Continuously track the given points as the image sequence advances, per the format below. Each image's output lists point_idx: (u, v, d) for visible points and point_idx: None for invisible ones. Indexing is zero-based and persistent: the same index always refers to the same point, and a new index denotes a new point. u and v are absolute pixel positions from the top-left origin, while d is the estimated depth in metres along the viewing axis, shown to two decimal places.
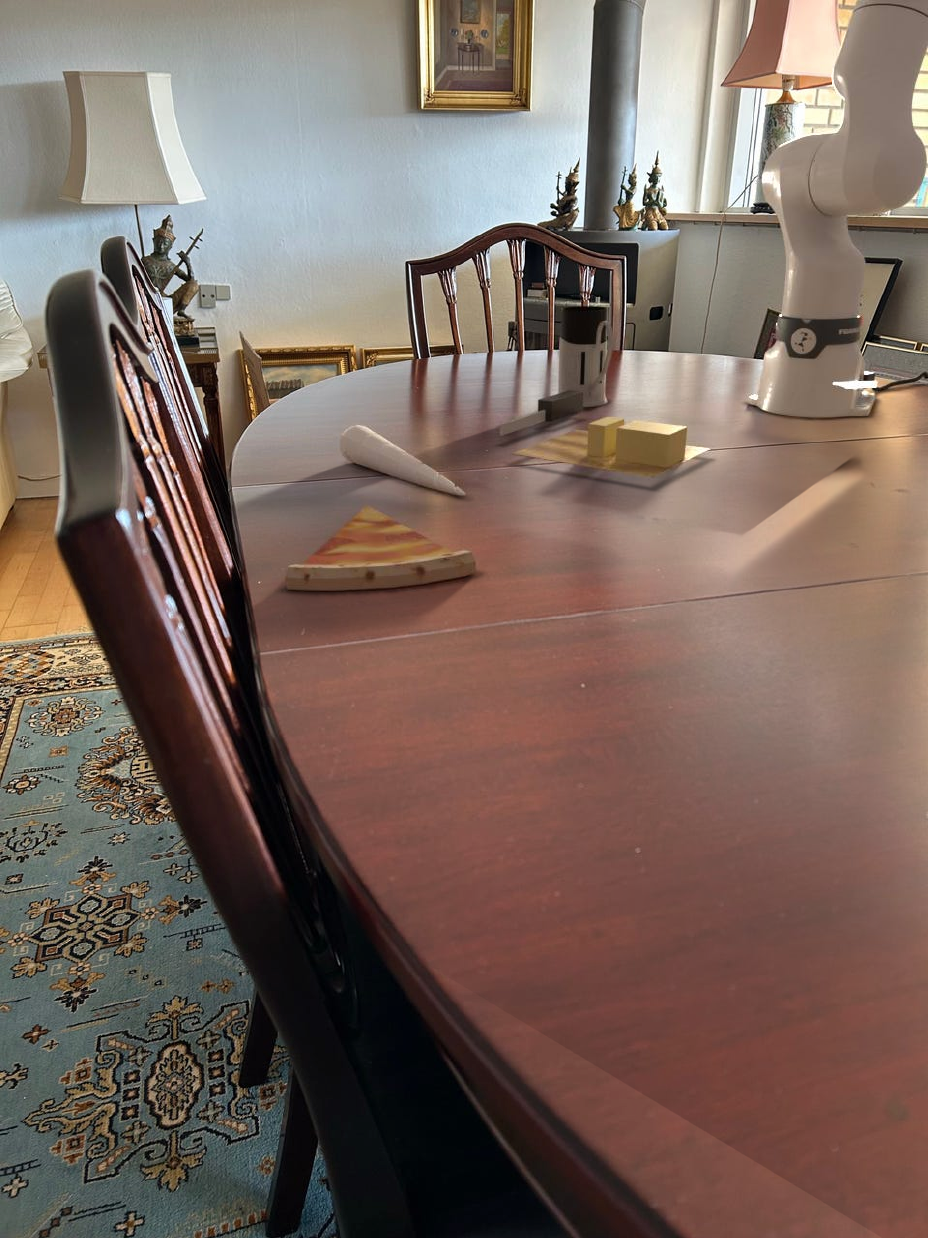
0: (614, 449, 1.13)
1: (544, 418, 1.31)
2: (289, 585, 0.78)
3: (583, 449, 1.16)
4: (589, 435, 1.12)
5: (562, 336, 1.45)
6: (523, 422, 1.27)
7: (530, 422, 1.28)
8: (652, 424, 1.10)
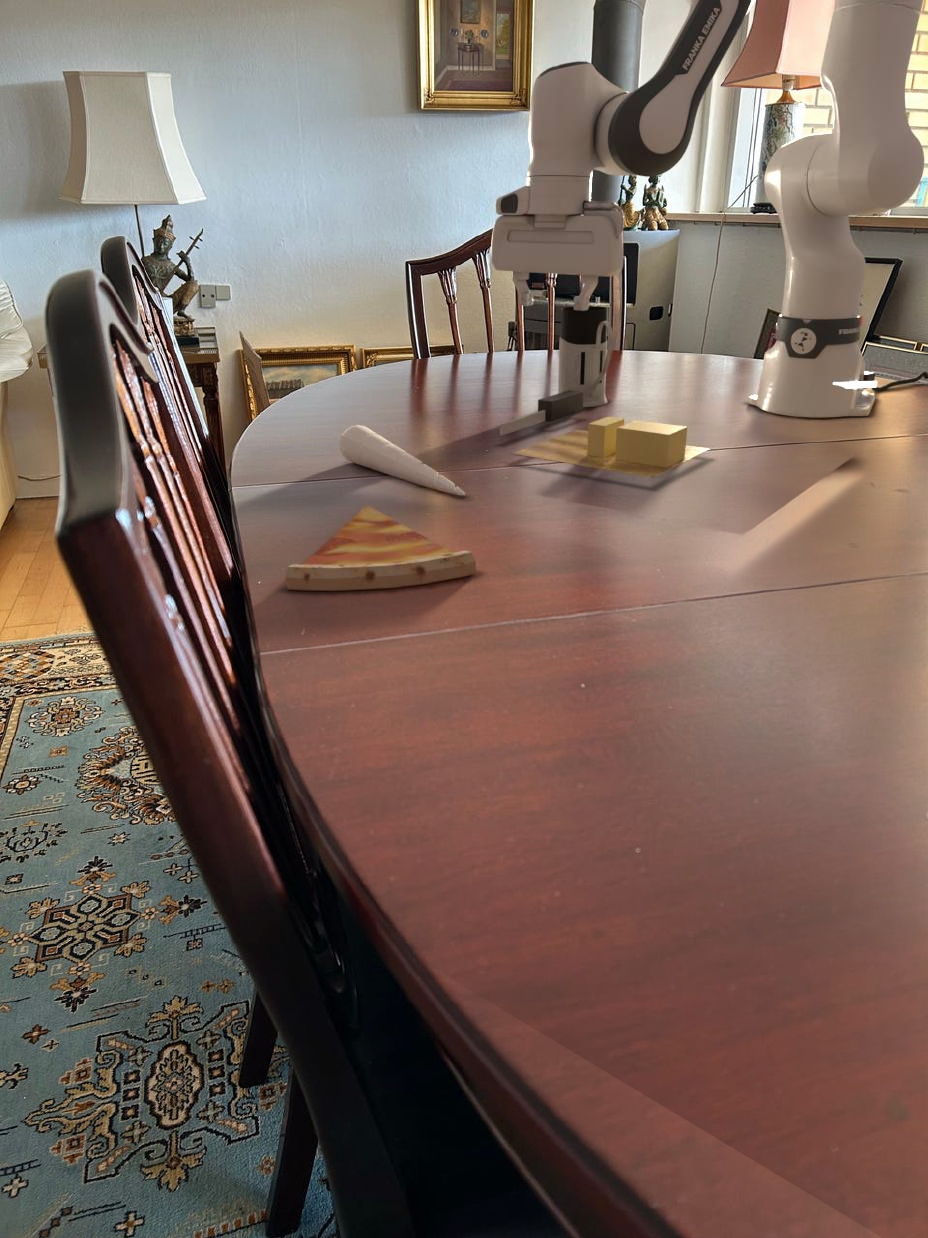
0: (614, 449, 1.13)
1: (544, 418, 1.31)
2: (289, 585, 0.78)
3: (583, 449, 1.16)
4: (589, 435, 1.12)
5: (562, 336, 1.45)
6: (523, 422, 1.27)
7: (530, 422, 1.28)
8: (652, 424, 1.10)
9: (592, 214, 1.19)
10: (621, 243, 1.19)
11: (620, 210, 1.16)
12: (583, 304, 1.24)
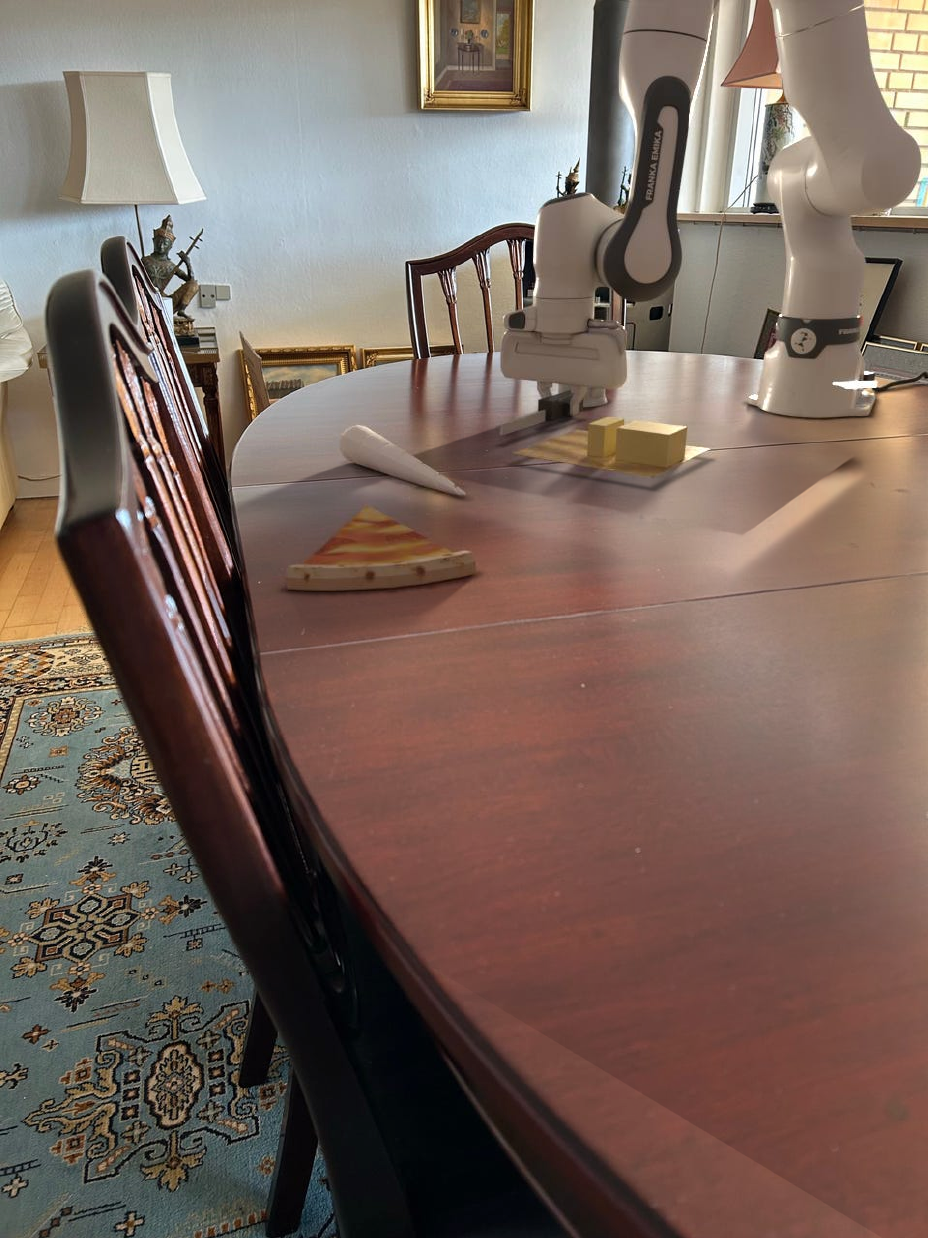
0: (614, 449, 1.13)
1: (544, 418, 1.31)
2: (289, 585, 0.78)
3: (583, 449, 1.16)
4: (589, 435, 1.12)
5: None
6: (523, 422, 1.27)
7: (530, 422, 1.28)
8: (652, 424, 1.10)
9: (596, 332, 1.26)
10: (625, 358, 1.26)
11: (623, 329, 1.24)
12: (573, 410, 1.33)
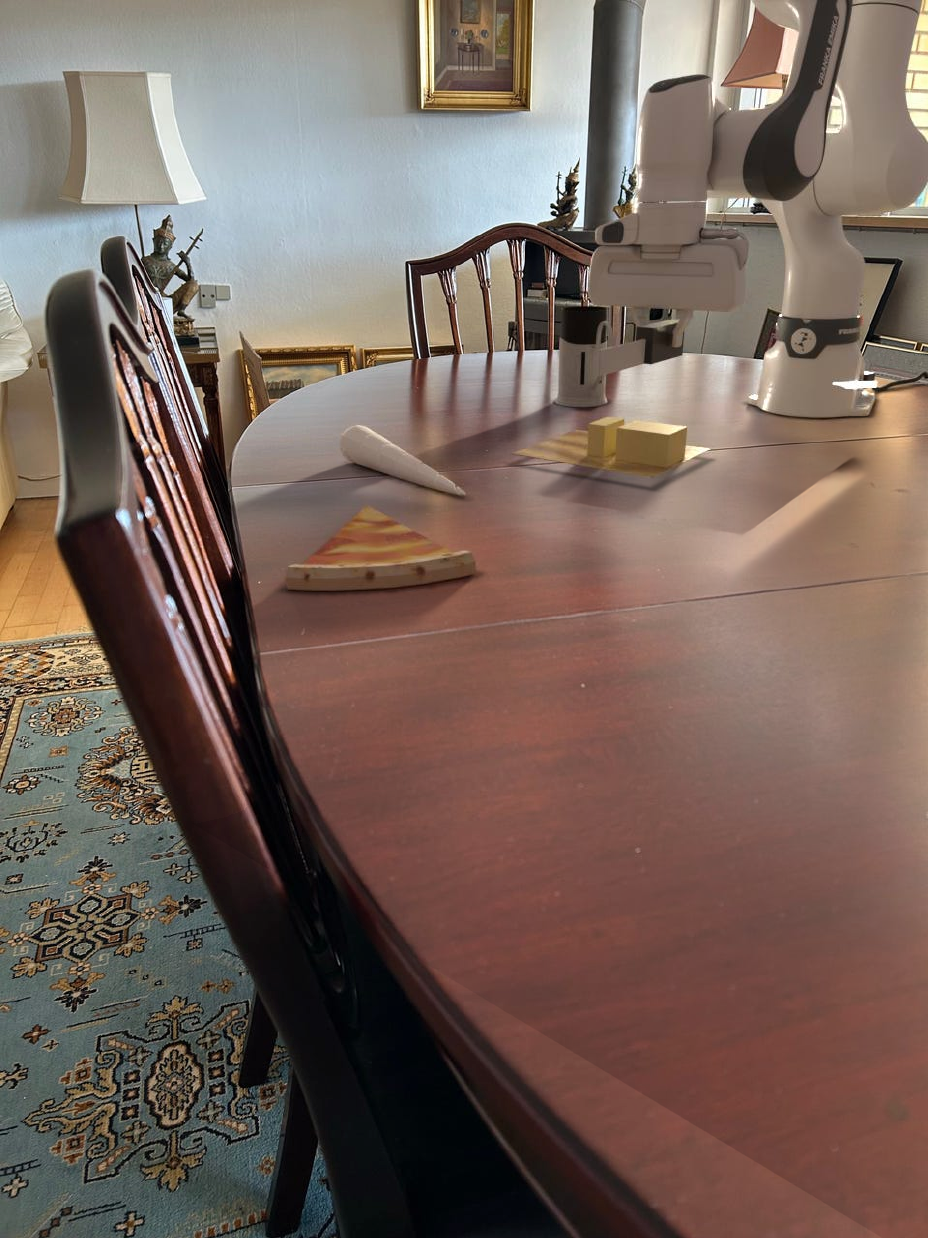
0: (614, 449, 1.13)
1: (643, 348, 1.11)
2: (289, 585, 0.78)
3: (583, 449, 1.16)
4: (589, 435, 1.12)
5: (562, 336, 1.45)
6: (622, 350, 1.07)
7: (629, 351, 1.09)
8: (652, 424, 1.10)
9: (710, 243, 1.06)
10: (744, 274, 1.07)
11: (745, 238, 1.04)
12: (677, 340, 1.13)
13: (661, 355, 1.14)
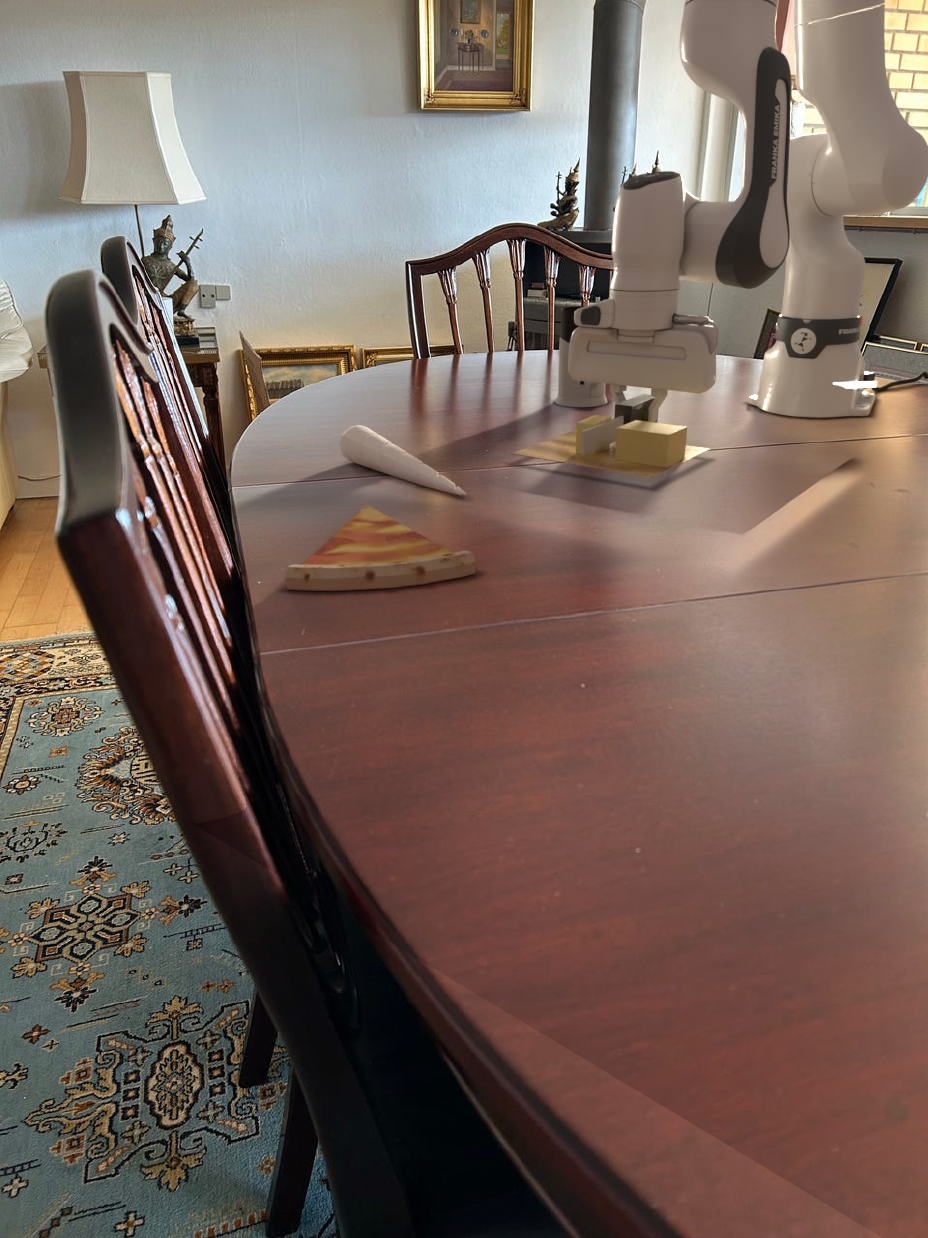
0: (602, 447, 1.14)
1: None
2: (289, 585, 0.78)
3: None
4: (577, 434, 1.13)
5: (562, 336, 1.45)
6: (603, 429, 1.12)
7: (609, 429, 1.14)
8: (652, 424, 1.10)
9: (682, 329, 1.12)
10: (714, 358, 1.12)
11: (715, 326, 1.10)
12: (653, 416, 1.19)
13: None
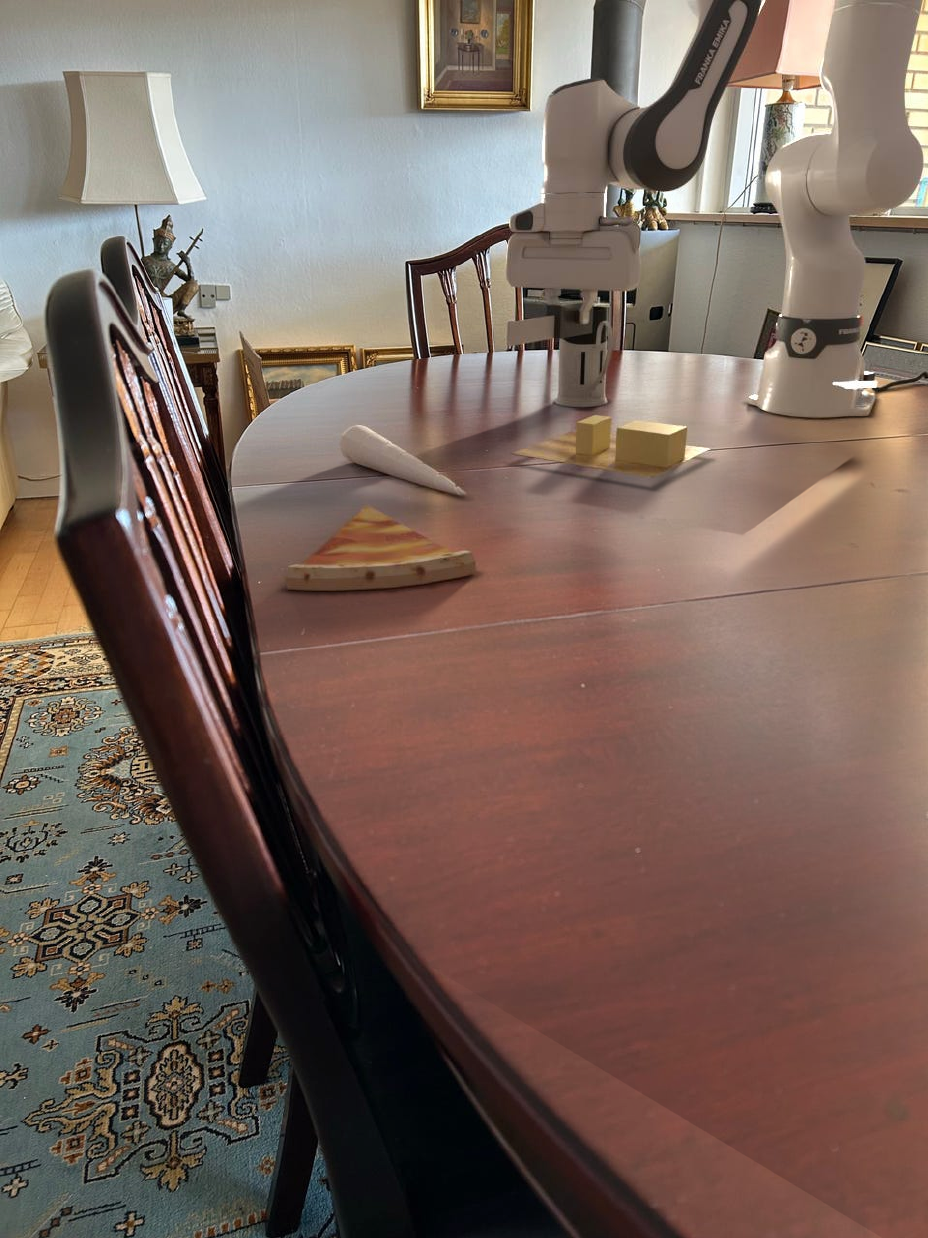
0: (602, 447, 1.14)
1: (553, 324, 1.24)
2: (289, 585, 0.78)
3: None
4: (577, 434, 1.13)
5: None
6: (531, 324, 1.20)
7: (538, 326, 1.21)
8: (652, 424, 1.10)
9: (608, 230, 1.19)
10: (638, 258, 1.19)
11: (637, 225, 1.17)
12: (584, 318, 1.26)
13: (570, 330, 1.26)
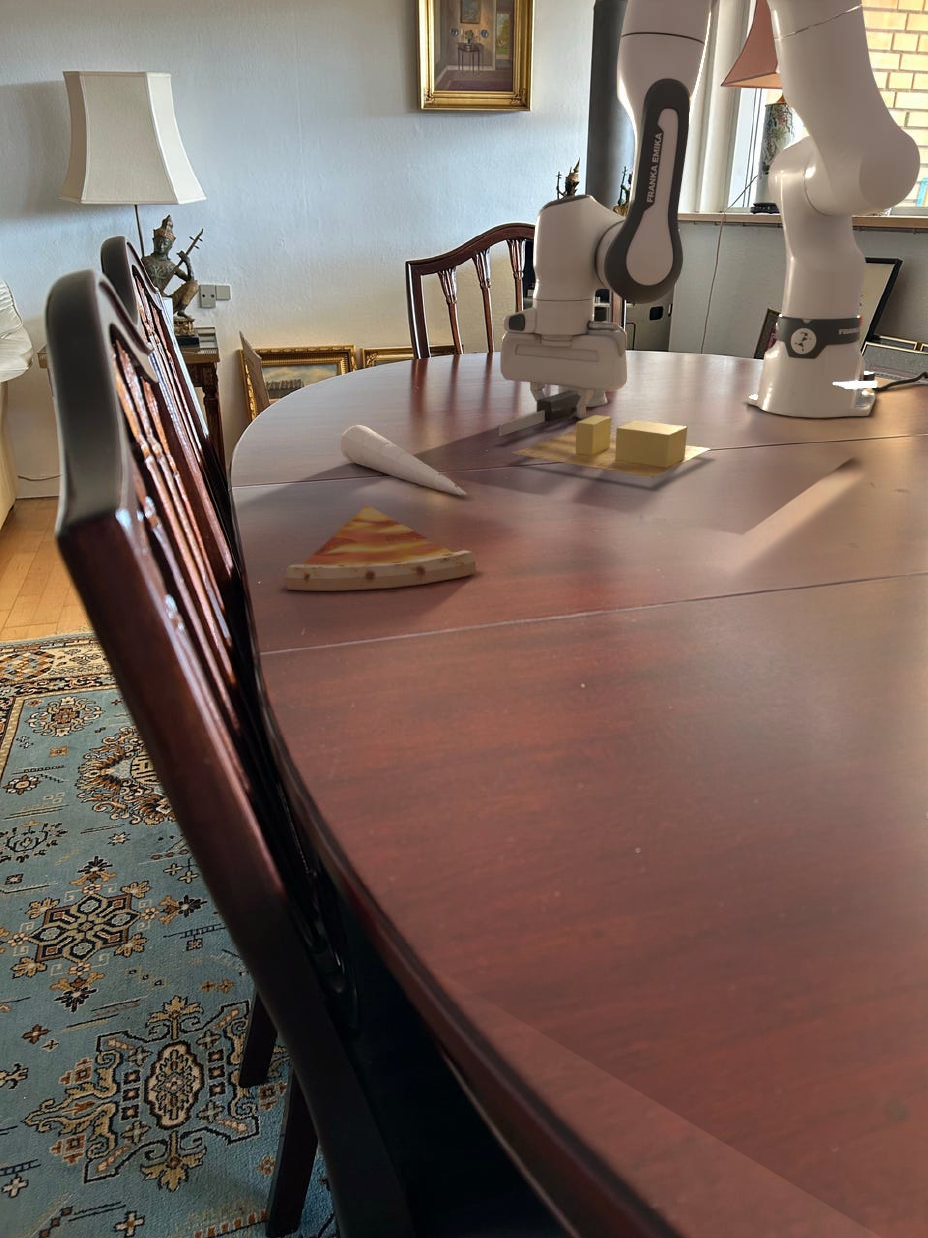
0: (602, 447, 1.14)
1: (543, 418, 1.31)
2: (289, 585, 0.78)
3: None
4: (577, 434, 1.13)
5: None
6: (522, 422, 1.27)
7: (529, 422, 1.28)
8: (652, 424, 1.10)
9: (596, 334, 1.26)
10: (624, 360, 1.26)
11: (623, 331, 1.24)
12: (580, 413, 1.32)
13: None
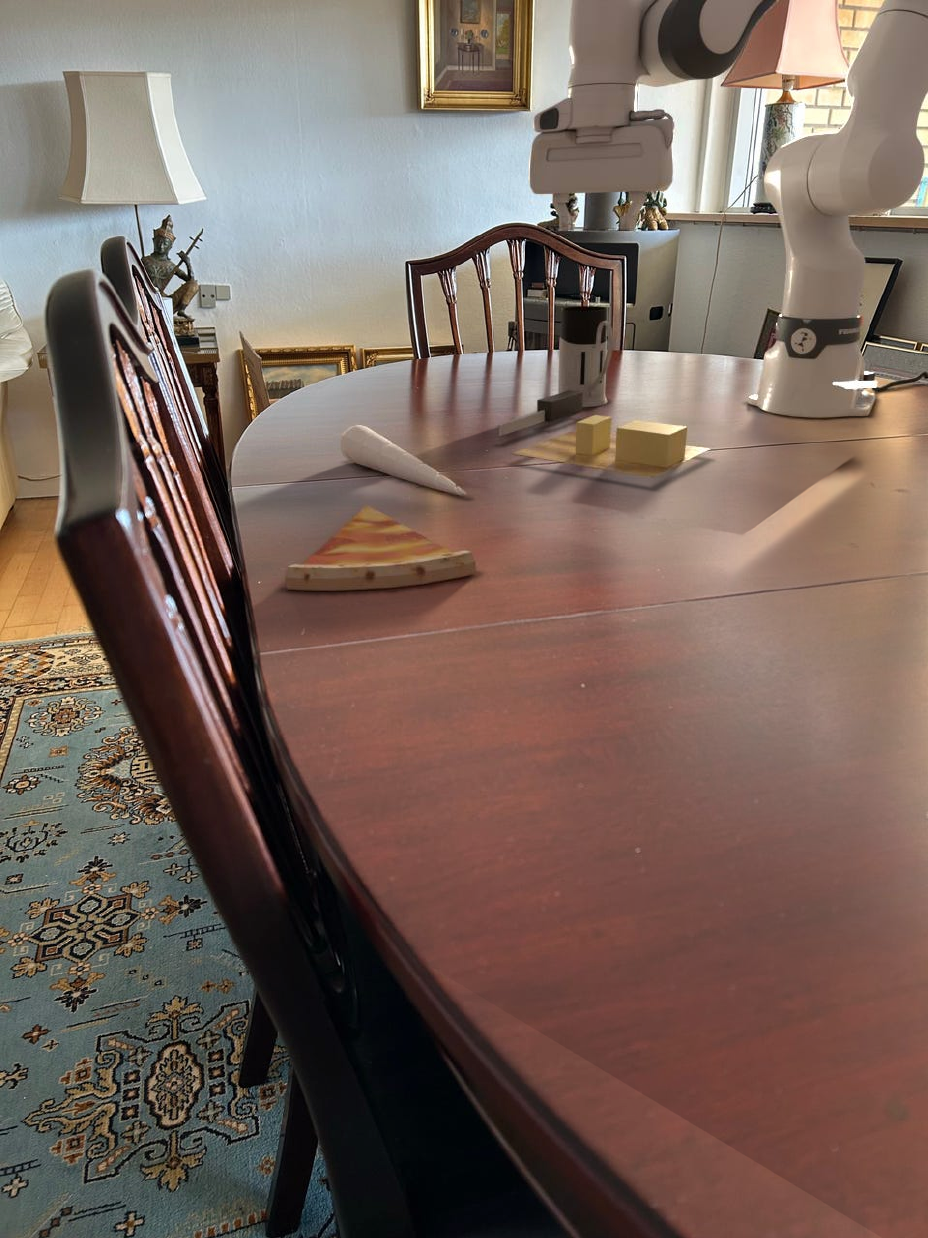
0: (602, 447, 1.14)
1: (543, 418, 1.31)
2: (289, 585, 0.78)
3: None
4: (577, 434, 1.13)
5: (562, 336, 1.45)
6: (522, 422, 1.27)
7: (529, 422, 1.28)
8: (652, 424, 1.10)
9: (639, 125, 1.13)
10: (671, 154, 1.13)
11: (670, 118, 1.10)
12: (630, 223, 1.18)
13: None
